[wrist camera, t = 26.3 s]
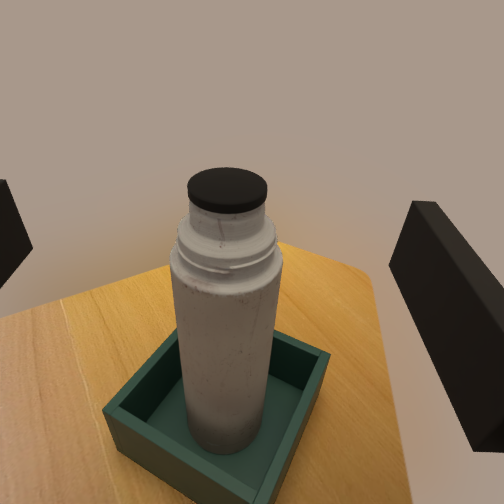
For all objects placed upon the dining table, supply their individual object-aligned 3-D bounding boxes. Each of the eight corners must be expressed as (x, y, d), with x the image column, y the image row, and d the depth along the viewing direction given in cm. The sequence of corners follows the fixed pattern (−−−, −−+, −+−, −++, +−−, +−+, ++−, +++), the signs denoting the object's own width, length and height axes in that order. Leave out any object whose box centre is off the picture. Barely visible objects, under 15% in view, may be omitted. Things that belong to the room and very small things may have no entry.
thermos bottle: (205, 375, 43) (194, 147, 26) (269, 395, 41) (303, 166, 24) (174, 440, 37) (133, 197, 20) (249, 466, 35) (275, 227, 18)
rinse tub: (318, 394, 42) (331, 353, 38) (257, 544, 31) (264, 512, 26) (204, 340, 48) (203, 298, 43) (117, 450, 36) (101, 409, 32)
